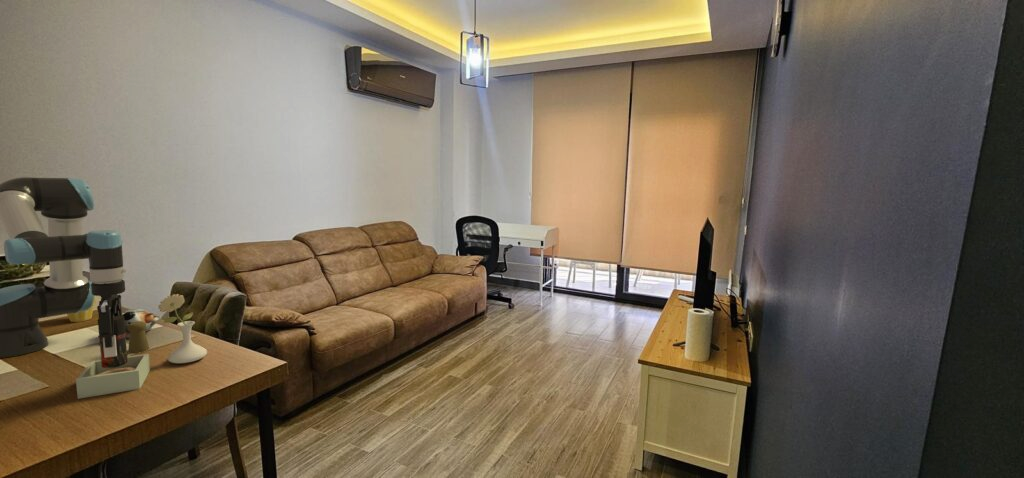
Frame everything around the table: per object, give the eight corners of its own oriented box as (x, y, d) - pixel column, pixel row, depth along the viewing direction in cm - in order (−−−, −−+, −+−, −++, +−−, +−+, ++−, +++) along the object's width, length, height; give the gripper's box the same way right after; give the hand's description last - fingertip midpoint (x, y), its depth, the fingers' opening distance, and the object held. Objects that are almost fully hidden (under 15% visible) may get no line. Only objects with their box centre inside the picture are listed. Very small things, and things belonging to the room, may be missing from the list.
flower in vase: (204, 350, 160) (201, 287, 156) (210, 360, 152) (206, 294, 148) (160, 359, 151) (155, 292, 147) (163, 370, 143) (159, 300, 139)
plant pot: (56, 322, 181) (54, 300, 179) (84, 315, 191) (82, 294, 189) (76, 324, 179) (74, 302, 178) (103, 317, 189) (101, 296, 188)
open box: (93, 378, 135) (92, 361, 134) (149, 370, 142) (148, 353, 142) (77, 398, 123) (75, 379, 123) (139, 388, 130) (138, 370, 130)
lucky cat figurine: (153, 325, 182) (163, 300, 178) (151, 345, 173) (161, 319, 170) (106, 322, 171) (116, 295, 168) (101, 342, 163) (112, 315, 160)
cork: (153, 347, 160) (151, 320, 159) (138, 354, 154) (136, 325, 153) (139, 346, 161) (137, 319, 159) (123, 352, 155) (121, 324, 153)
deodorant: (132, 362, 134) (128, 316, 132) (109, 369, 128) (105, 322, 126) (120, 358, 136) (116, 314, 134) (97, 366, 130) (93, 319, 128)
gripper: (115, 287, 122) (121, 361, 125) (132, 273, 138) (137, 340, 141) (79, 289, 118) (86, 366, 121) (101, 275, 134) (107, 344, 137)
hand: (113, 352), depth 131 cm, fingers closed on deodorant, 6 cm apart
